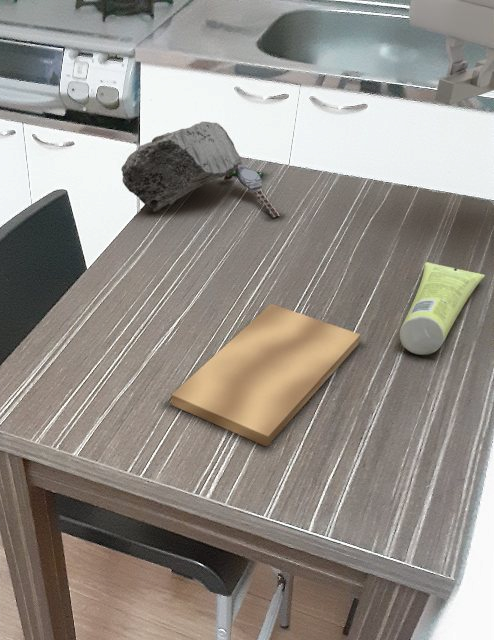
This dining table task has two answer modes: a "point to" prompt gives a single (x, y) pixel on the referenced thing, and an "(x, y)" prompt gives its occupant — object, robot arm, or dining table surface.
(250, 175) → the wristwatch
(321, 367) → the board
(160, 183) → the stone
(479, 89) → the fork
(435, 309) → the tube
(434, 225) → the dining table surface
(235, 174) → the circuit board
